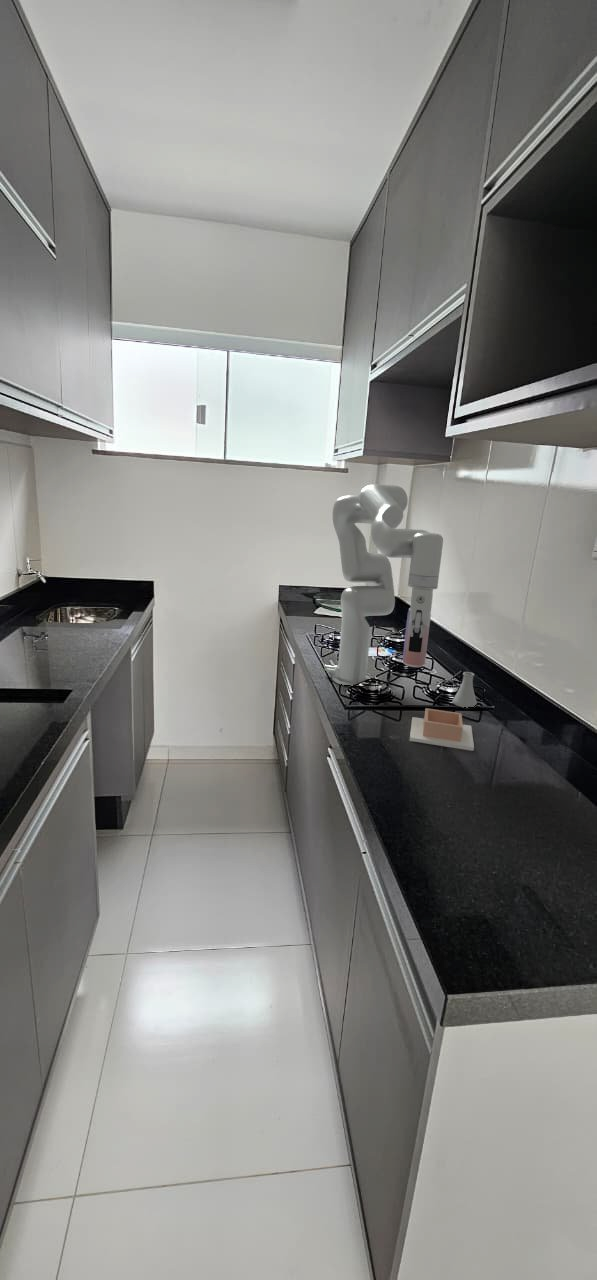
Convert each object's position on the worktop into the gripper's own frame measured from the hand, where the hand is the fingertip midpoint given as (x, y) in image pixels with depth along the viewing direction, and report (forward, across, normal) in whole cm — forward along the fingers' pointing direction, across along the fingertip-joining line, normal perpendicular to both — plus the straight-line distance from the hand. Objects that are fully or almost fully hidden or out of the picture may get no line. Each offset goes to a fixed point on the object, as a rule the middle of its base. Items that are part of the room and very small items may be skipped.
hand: (415, 647), depth 154 cm
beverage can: (+5, 0, 0) cm, 5 cm away
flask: (+22, +23, -16) cm, 35 cm away
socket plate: (+22, -4, -9) cm, 24 cm away
